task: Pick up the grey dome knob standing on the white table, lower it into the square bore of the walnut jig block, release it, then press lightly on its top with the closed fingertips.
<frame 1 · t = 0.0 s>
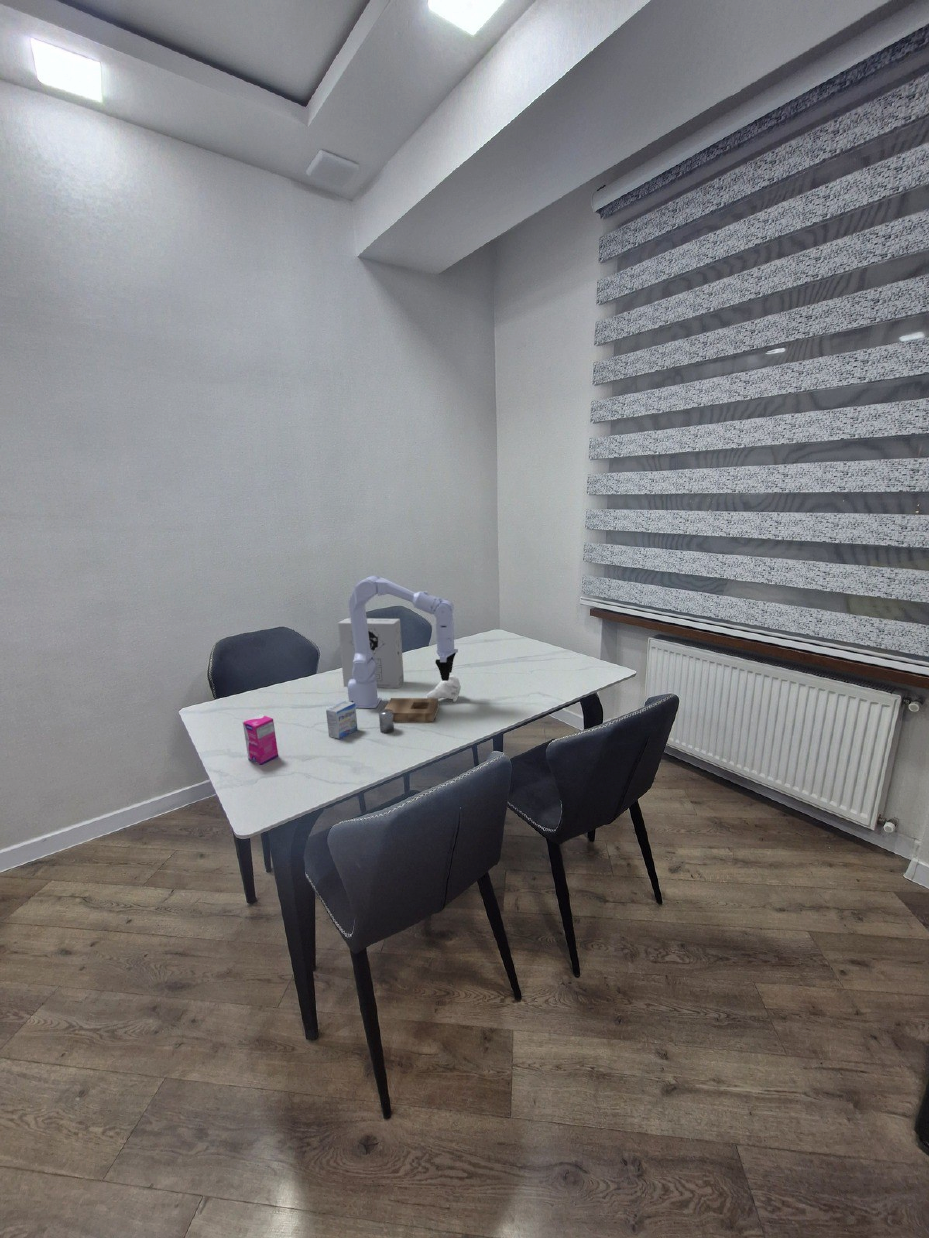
hand: (446, 676, 164), 10 cm above the table, fingers open, 7 cm apart
cereal box: (374, 684, 188), on the table
jig: (411, 713, 160), on the table
grey dome knob: (387, 730, 149), on the table
white lumpy piece: (443, 701, 170), on the table
supplement box: (263, 758, 135), on the table
medicine box: (343, 733, 148), on the table
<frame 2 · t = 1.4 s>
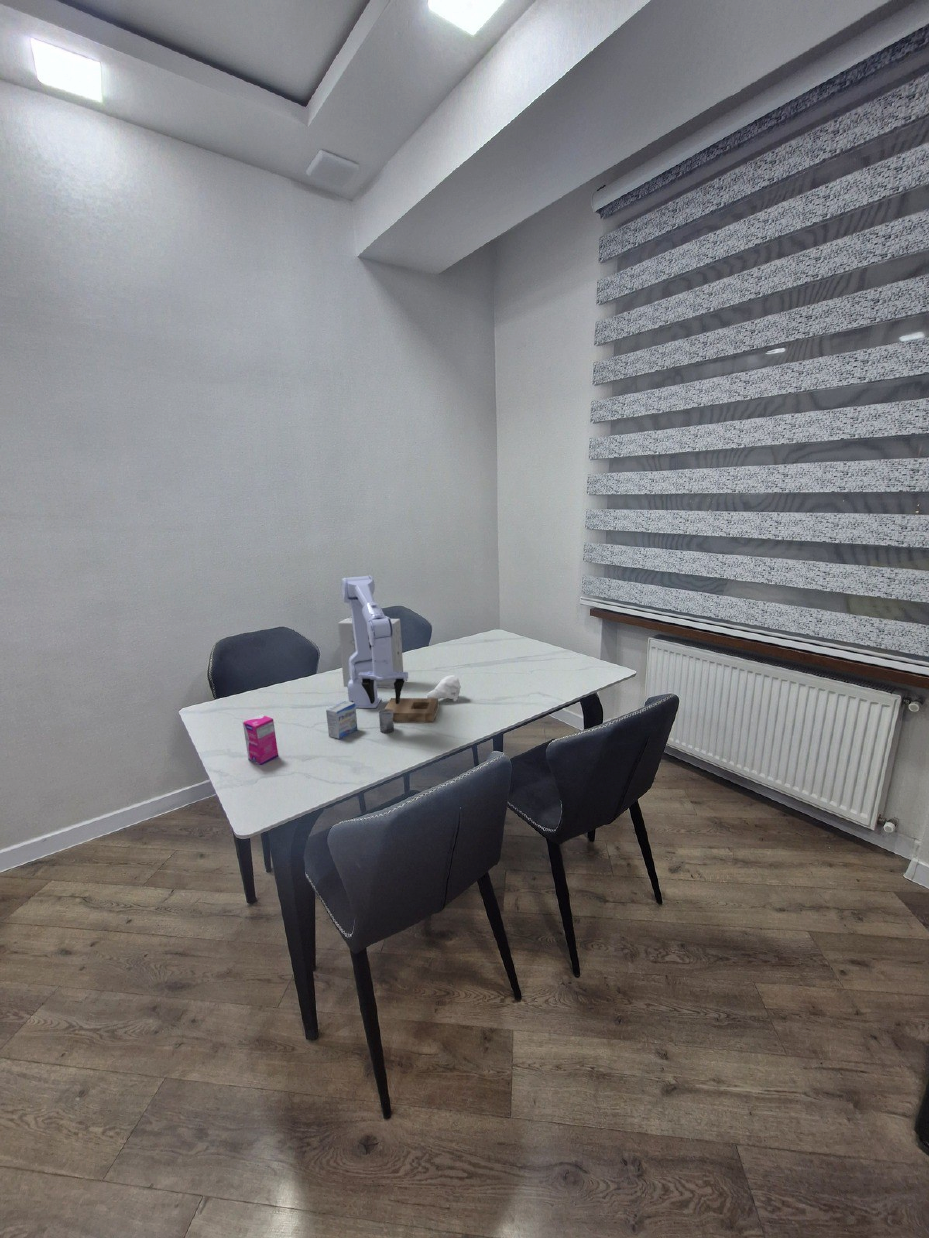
hand: (385, 702, 147), 9 cm above the table, fingers open, 7 cm apart
nothing on the table moved.
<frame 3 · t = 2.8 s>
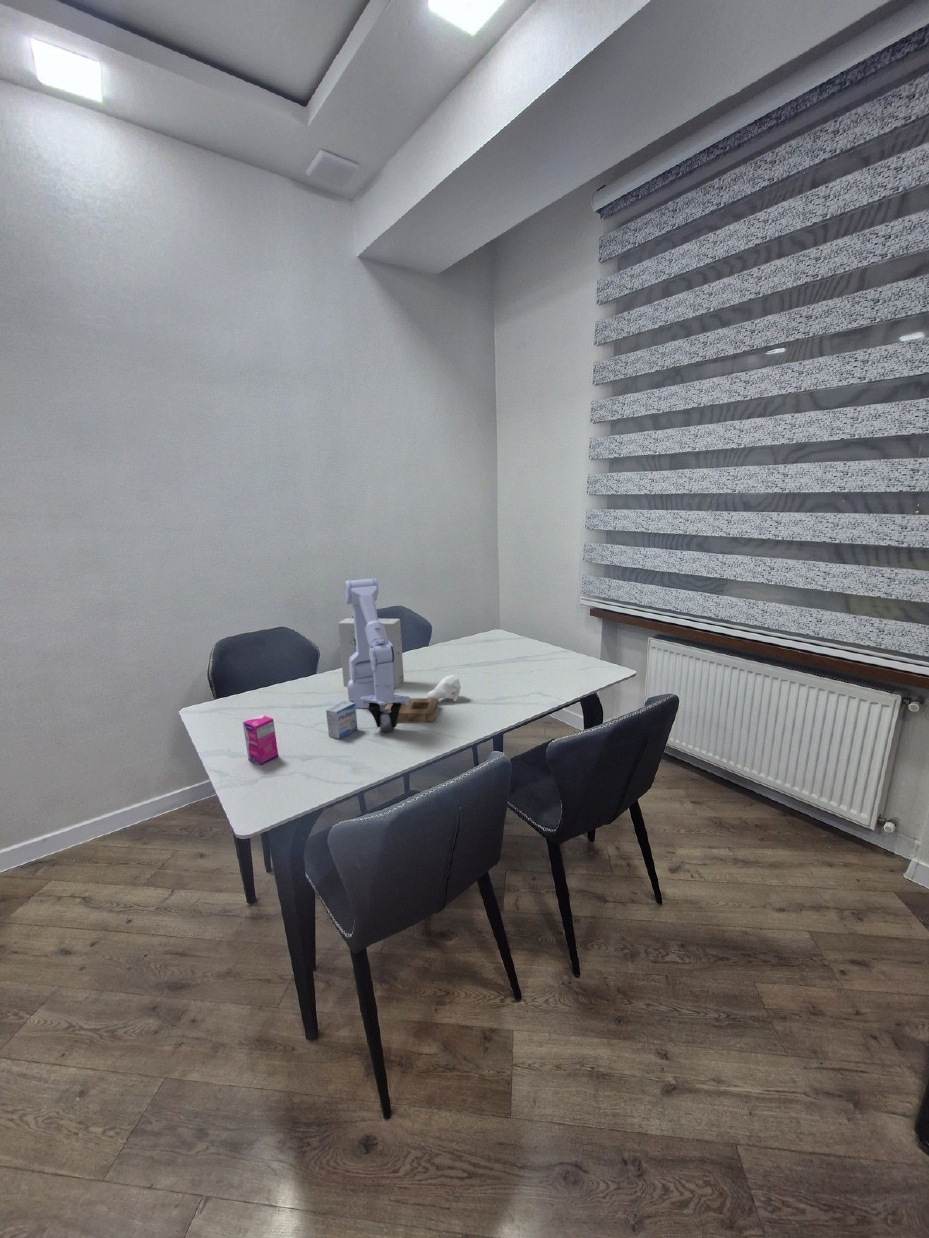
hand: (386, 726, 149), 1 cm above the table, fingers closed on grey dome knob, 4 cm apart
grey dome knob: (387, 730, 149), on the table, touching gripper
everything else where it was.
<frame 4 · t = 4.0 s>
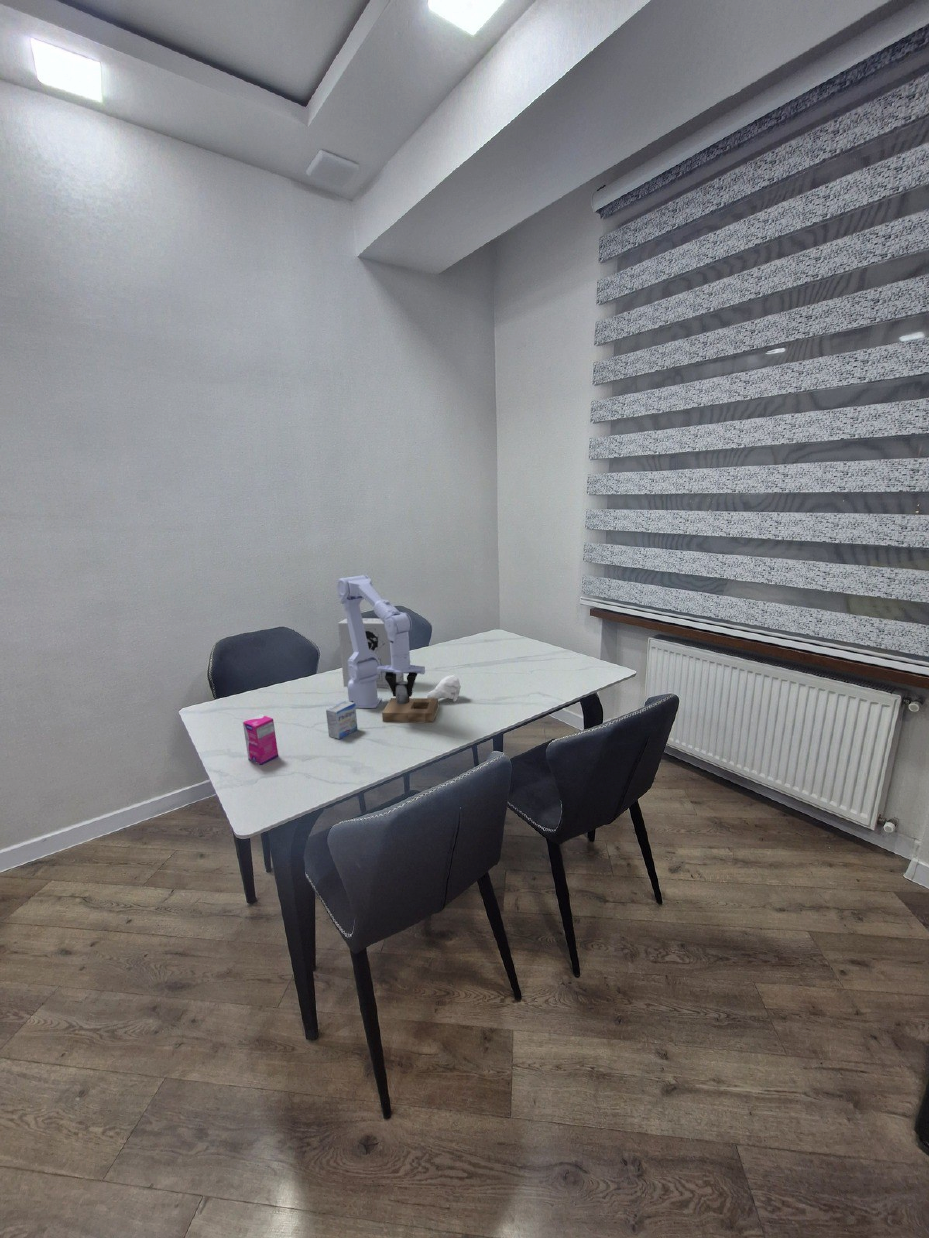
hand: (402, 695, 152), 9 cm above the table, fingers closed on grey dome knob, 4 cm apart
grey dome knob: (402, 701, 152), point 7 cm above the table, touching gripper
everything else where it was.
when the fingers open (3 cm above the table, at t = 5.7 s): grey dome knob drops 1 cm, resting in jig.
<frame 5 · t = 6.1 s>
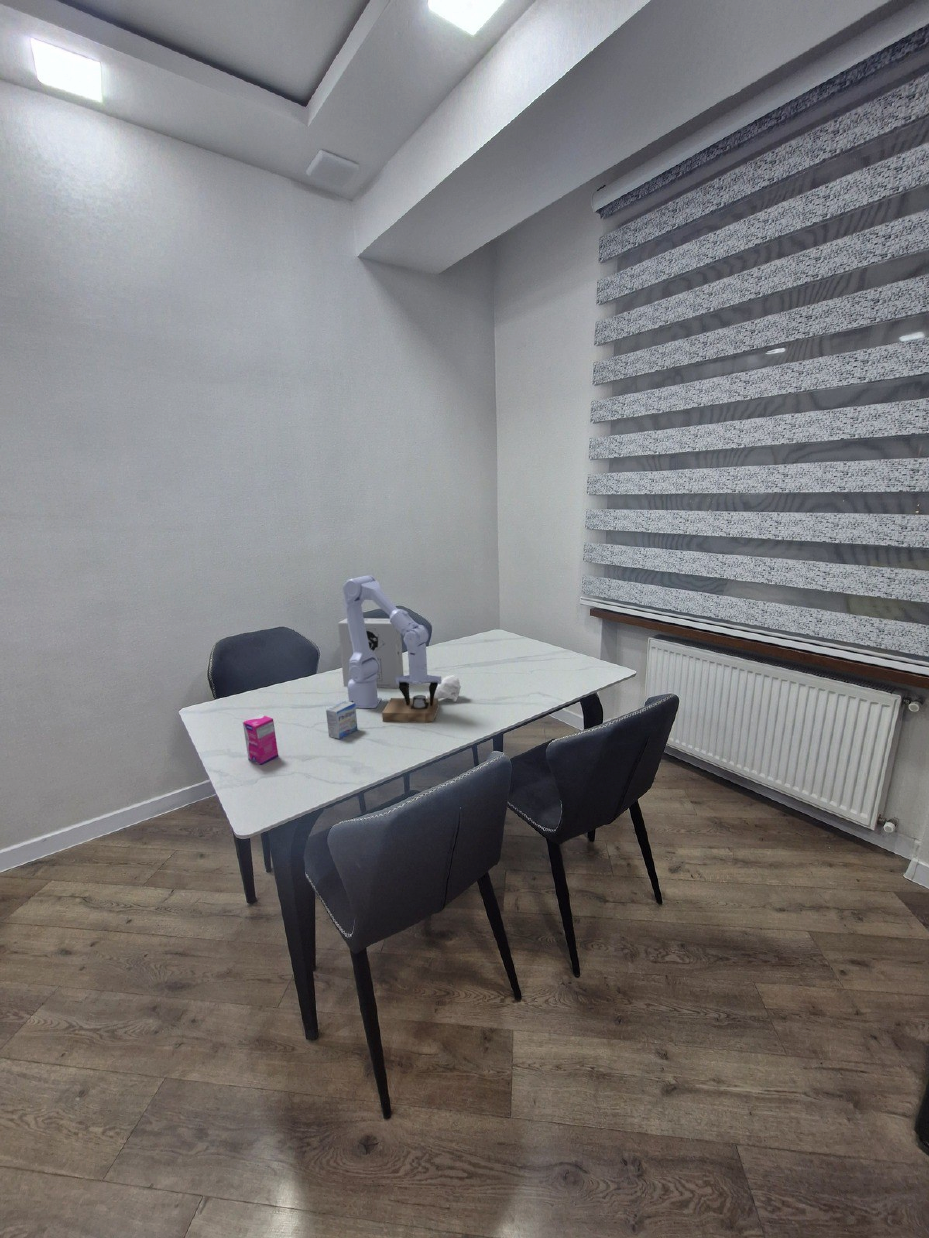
hand: (420, 704, 159), 3 cm above the table, fingers open, 7 cm apart
grey dome knob: (420, 714, 159), resting in jig
everything else where it was.
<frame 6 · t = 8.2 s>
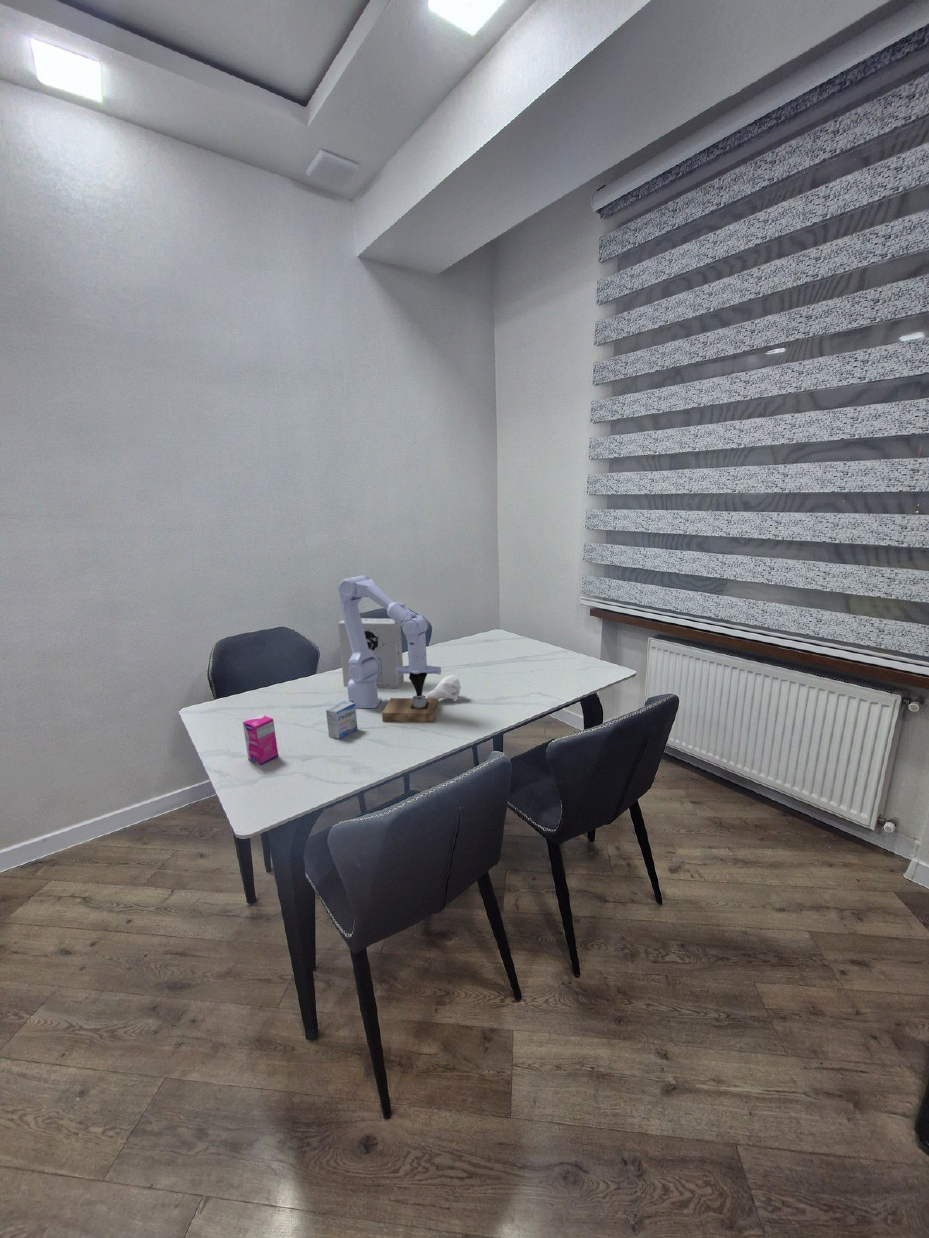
hand: (419, 694, 158), 7 cm above the table, fingers closed
nothing on the table moved.
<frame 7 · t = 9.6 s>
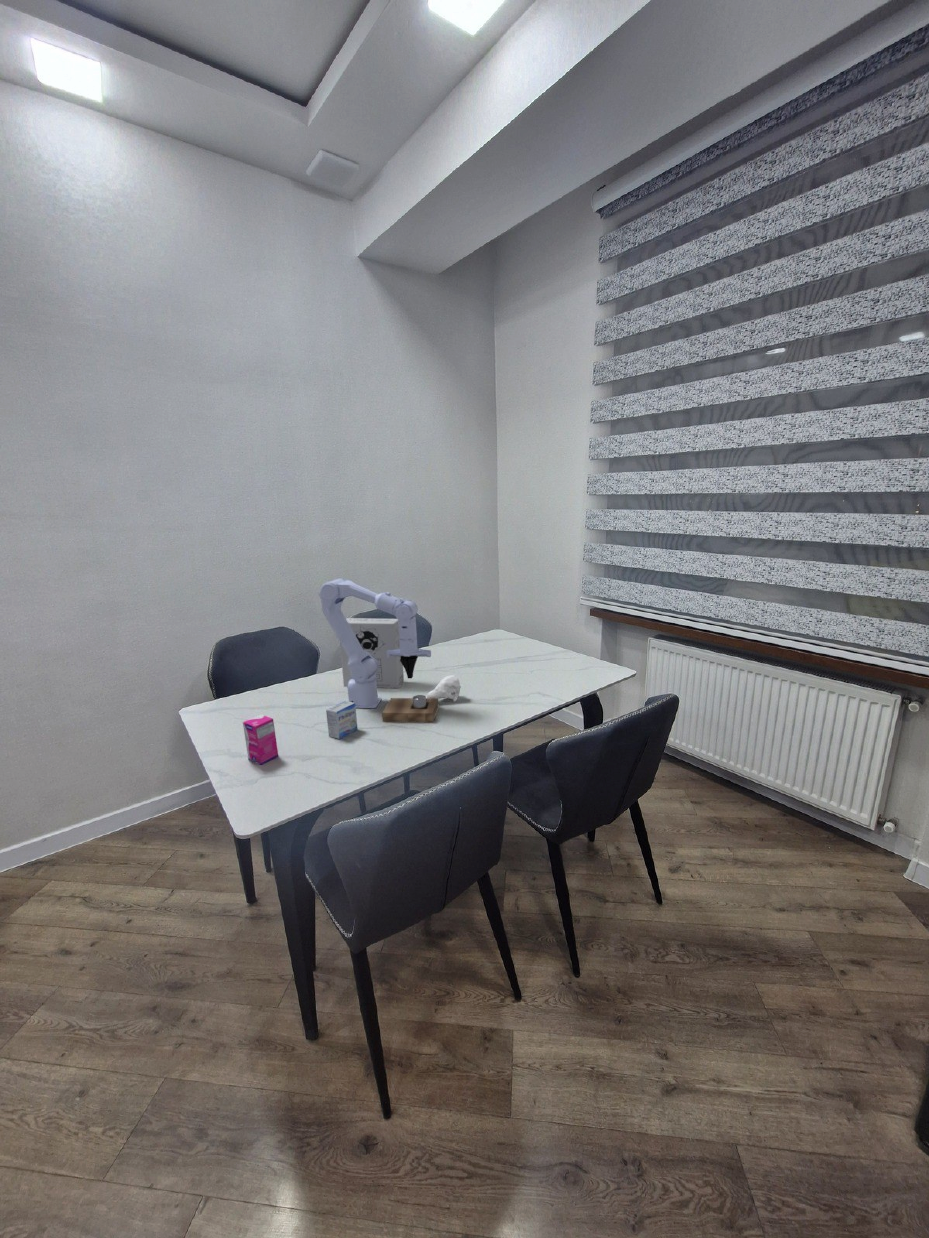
hand: (410, 677, 164), 10 cm above the table, fingers closed
nothing on the table moved.
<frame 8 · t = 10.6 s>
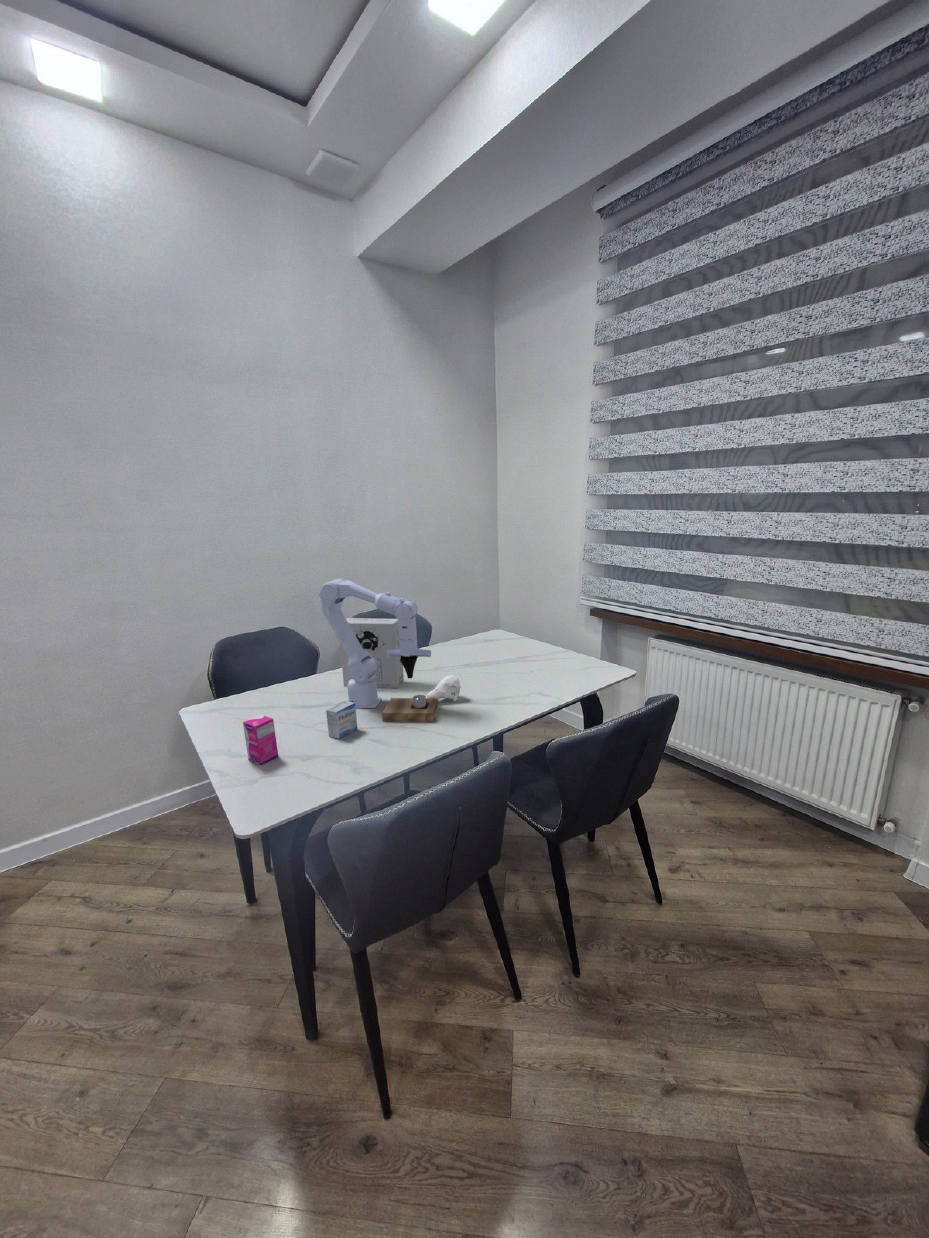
hand: (410, 677, 164), 10 cm above the table, fingers closed
nothing on the table moved.
at the end: grey dome knob 0.5 cm from the target spot on the jig, point 0.0 cm above the jig's base; grey dome knob tilted 1°; the gripper is holding nothing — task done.
